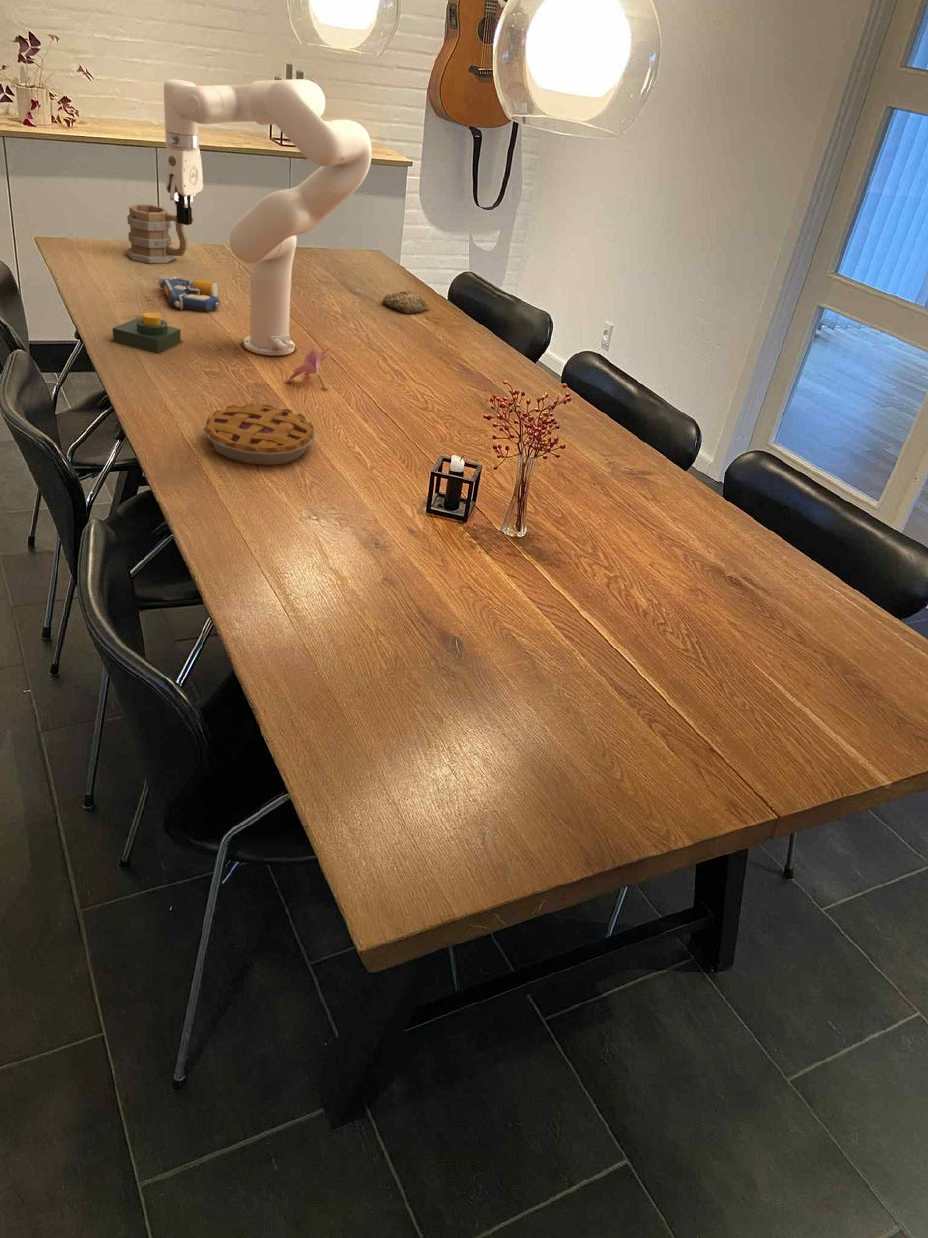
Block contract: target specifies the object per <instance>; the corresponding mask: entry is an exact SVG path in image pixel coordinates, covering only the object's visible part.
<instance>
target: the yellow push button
mask: <svg viewBox="0 0 928 1238" xmlns="http://www.w3.org/2000/svg"><path fill="white" fill-rule="evenodd" d="M142 318H143V324H144V325H148V326H159V325H161V320H162V319H161V318H162V317H161V314H159V313H157V312H145V313H143V314H142Z"/></svg>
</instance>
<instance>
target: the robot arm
mask: <svg viewBox="0 0 928 1238" xmlns="http://www.w3.org/2000/svg"><path fill="white" fill-rule="evenodd" d="M163 108H164V109H163V110H164V133H165V134H164V139H165V147H166V151H165V163H164V164H165V165H164V167H165V168H164V179H165V189H166V191H167V192H168V193H169V200H170V201H174V206H175V207H176V215H177V223H180V224H183V226H190V225H192V224H193V222H192V216H193V211H192V210H193V209H192V207H193V205H194V197H195V196H197V194H198V193H201V192H202V191H203V189H204V180H203V179H204V177H203V176H204V175H203V164H202V163H203V162H202V155H201V150H200V134H199V133H200V131H199V130H200V127H199V126H200V125H211V124H212V125H213V124H222V123H241V122H244V123H246V122H256V124H258V125H261V126H271V125H272V126H273V125H275V126H276V127H277V128H278V129H279V131H281V133H282V134H283V135H284V136H285V137H286V138H287V139H288V140H289V141H290V143H292V144H293V145H294V147H296V148H297V150H298V151H299V152H300V153H301V154H302V155H303V156H304V157H305V158H306V159H307V160H308V161H310V163H312V164H314V165H315V166H318V167H319V168H317V169H316V170H315V171H313V172H312V173H311V174H310V175H309V176H308V177H307V178H306V179H305V180H304V181H302V182H301V183H300V184H298V185H297V186H294V187H290V188H287V189H282V190H278V191H277V190H276V191H274V192H271V193H269V194H267V195H265V196H264V197H263V198H261V199H260V200H259V201H258V202H257V203H256V204H254V206H252V207H251V208H250V209H249V210H248V211H247V212H246V213H244V214H243V215H242V216H241V217H240V218H239V219H238V220H237V221H236V222H235V223H234V225H233V226H232V229H231V231H230V234H229V245H230V248H231V251H232V253H233V254H234V256H235V257H236V258H238V259H239V260H240V261H242V262H244V263H247V264H251V265H252V266H251V271H250V272H251V273H250V306H249V307H250V309H249V310H250V312H249V313H250V315H249V316H250V318H249V321H250V322H249V336H246V337H244V339H243V347H244V348H245V349H246V350H248V351H249V352H251V353H254V354H258V355H262V356H263V355H264V356H271V357H272V356H273V357H275V356H276V357H278V356H286V355H290V354H291V353H294V352H295V348H296V347H295V346H296V345H295V342H293V340H291V334H290V317H291V316H290V314H291V313H290V312H291V288H292V273H293V264H294V257H295V253H296V248H297V236H298V235H302V234H305V233H308V232H309V231H311V230H313V229H314V228H315V227H316V226H318V224H319V223H320V222H322V221H323V220H324V219H325V218H326V217H328V216H329V215H330V214H331V213H332V212H334V211H335V210H336V209H337V208H338V207H339V206H340V205H341V204H343V203H344V201H346V200H347V199H348V198H349V197H350V196H351V195H353V193H355V192H356V191H357V189H358V188H360V186H361V185H362V183H363V182H364V180H365V179H366V177H367V175H368V172H369V170H370V167H371V162H372V153H373V152H372V143H371V139H370V135H369V133H368V131H367V130H366V128H364V127H363V125H361V123H358V122H357V121H353V120H350V119H334V120H332V119H331V120H324V119H323V118H322V116H323V114H324V112H325V110H326V109H325V108H326V98H325V94H324V92H323V90H322V89H321V87H320V86H319V85H318V84H317V83H316V82H314V81H312V80H309V79H306V78H305V79H304V78H295V79H294V78H293V79H292V78H291V79H275V80H274V79H273V80H255V81H253V82H251V83H250V84H222V85H221V84H215V85H211V84H210V85H196V84H195V83H194V82H192V81H188V80H184V79H178V78H169V79H166V80H165V81H164V83H163Z"/></svg>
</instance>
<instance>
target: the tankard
mask: <svg viewBox="0 0 928 1238" xmlns="http://www.w3.org/2000/svg"><path fill="white" fill-rule="evenodd" d="M128 210H129V214H128V215H127V216H126V217H127V218H126V219H127V224H128V225H129V228H130V229H129V230H130V231H129V232H128V233H127V235H128V236H127V237H128V242H129V243H130V246H131V247H129V248H128V249H126V256H128V257H129V258H130V259H131V260H132V261H135V262H140V263H144V264H168V263H170V262H171V261H173V260H175V257H183V256H185V254H186V252H187V250H188V248H189V247H188V245H189V244H188V238H187V235H186V232H185V227H184V226H185V225H184V224H180V223H177V214H172V213H169V211H168V210H167V209H166V208H164V207H163V206H160V205H153V204H134V205H130V206H129V207H128ZM194 220H195V217H194V216H193V215H192V223H193V222H194ZM171 222H174V223H175V232H176V234H177V237H178V240H179V247H178V248H175V247H173V246H172V237H171V236H170V234H169V233H170V232H169V229H171V228H172V225H171V224H172V223H171Z"/></svg>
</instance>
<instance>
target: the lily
mask: <svg viewBox="0 0 928 1238" xmlns="http://www.w3.org/2000/svg"><path fill="white" fill-rule="evenodd" d="M331 349H332V346H330V347H328V348H326V349H324V350H323V351H322V352H320V353H318V351H317V349H316V348H312V349H311V350H310V351H309V352H308V353H307V354H306V356H305V358H304V360H303V364H301V365H299V366H298V367H296V368H295V369H293V373H292V374H291V375H290V377H289V378H288V380H287V381H286V383H289V382H290V381H292V380H293V379H295V378H296V377H298V376H299V375H301V374H303V375H304V377H306V378H309V376H310V375H311V374H315V375H316V376H317V377H318V379H319V382H320V384H321V386H322V388H323V390H326V387H325V385H324V383H323V380H322V378H321V376H320V375H319V367H320V364H321V362H322V361H324V360H325V359H327V358H329V356H328V355H327V353H328V352H329V350H331Z"/></svg>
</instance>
